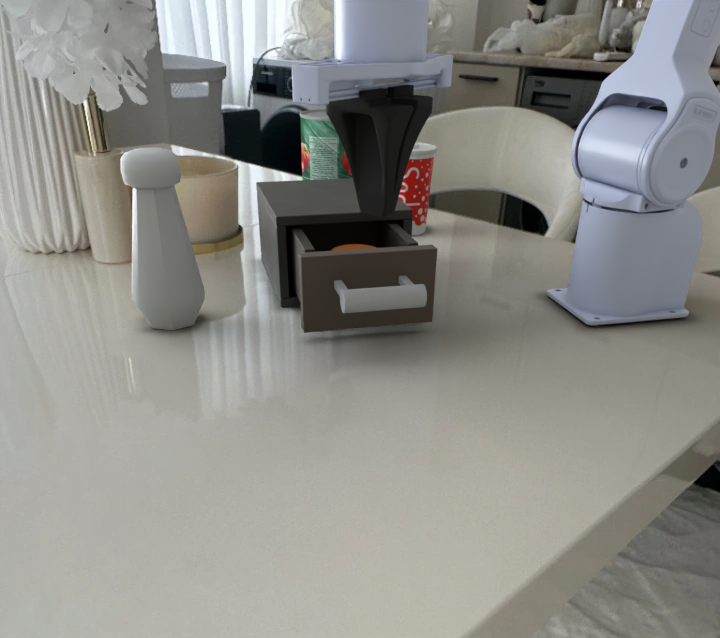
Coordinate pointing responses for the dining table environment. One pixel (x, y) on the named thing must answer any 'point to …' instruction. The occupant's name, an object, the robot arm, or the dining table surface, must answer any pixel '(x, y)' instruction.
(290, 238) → the pod drawer
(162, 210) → the salt shaker
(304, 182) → the open desk drawer box
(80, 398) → the dining table surface
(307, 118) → the canned tomato
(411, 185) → the beverage cup
